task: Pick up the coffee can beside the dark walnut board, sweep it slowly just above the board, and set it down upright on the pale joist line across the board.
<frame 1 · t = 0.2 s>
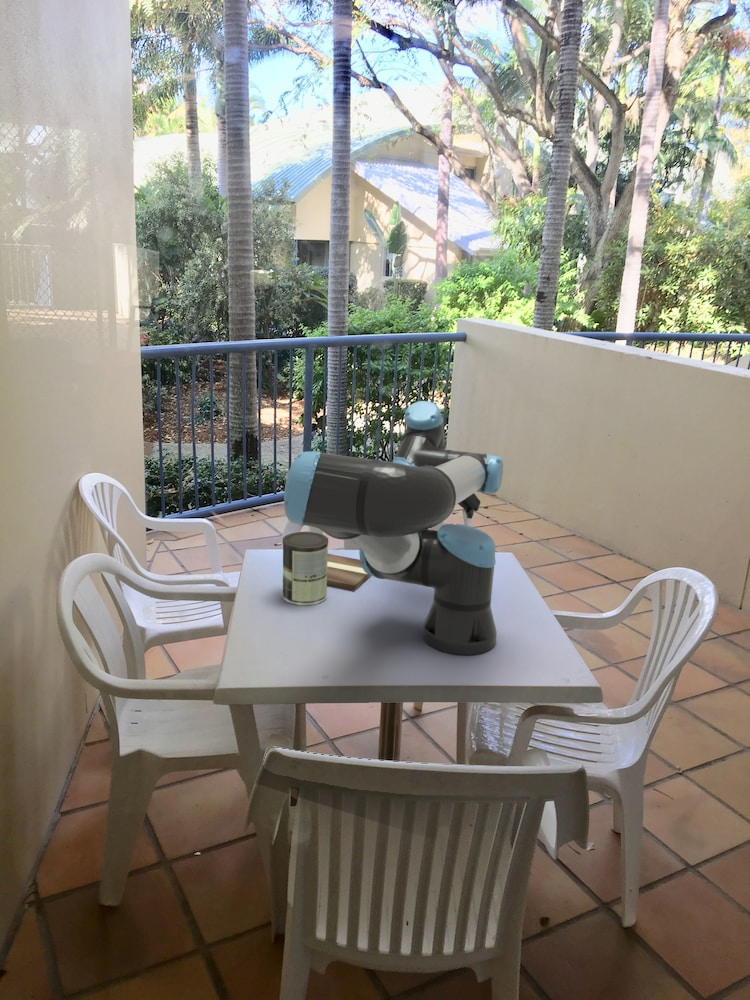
hand: (440, 519, 180), 15 cm above the table, tool tilted 35°, fingers open, 13 cm apart
joist line: (335, 571, 186), resting on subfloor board
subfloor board: (334, 573, 185), on the table
coffee can: (304, 597, 171), on the table
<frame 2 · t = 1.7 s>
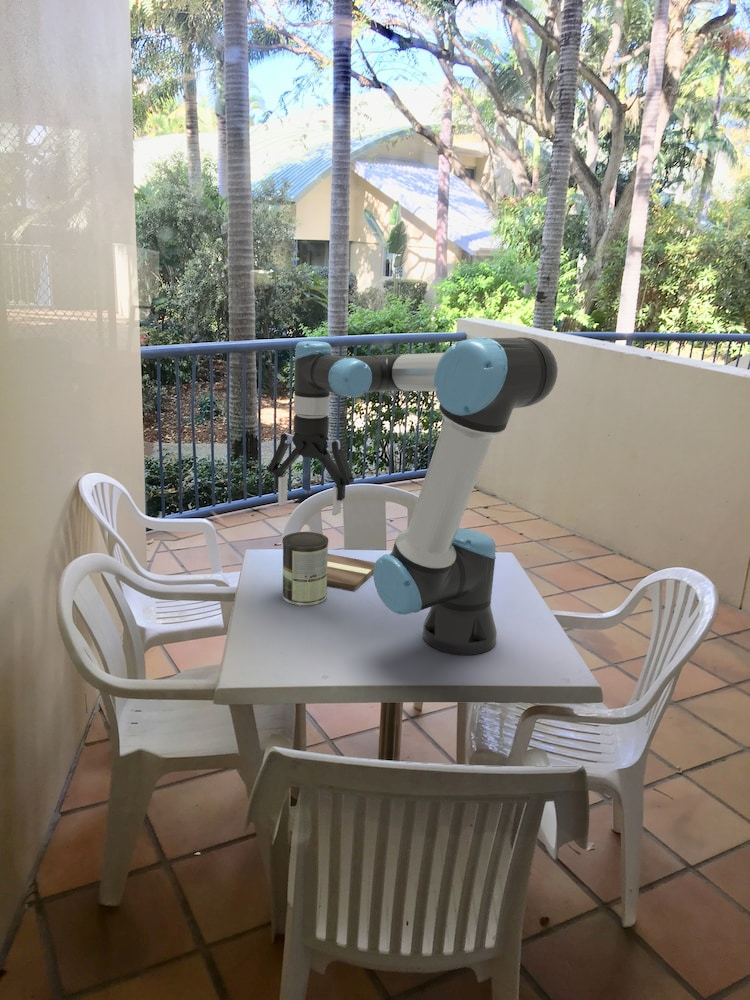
hand: (309, 508, 166), 21 cm above the table, tool pointing down, fingers open, 13 cm apart
nothing on the table moved.
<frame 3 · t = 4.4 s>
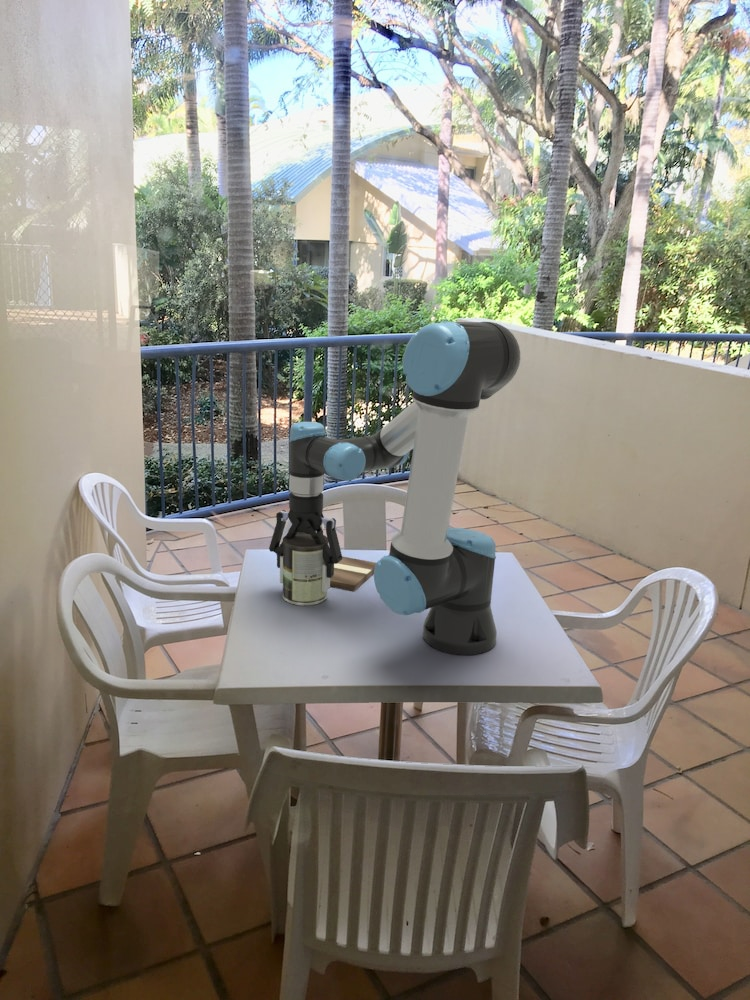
hand: (304, 585, 170), 3 cm above the table, tool pointing down, fingers closed on coffee can, 10 cm apart
coffee can: (304, 597, 171), on the table, touching gripper
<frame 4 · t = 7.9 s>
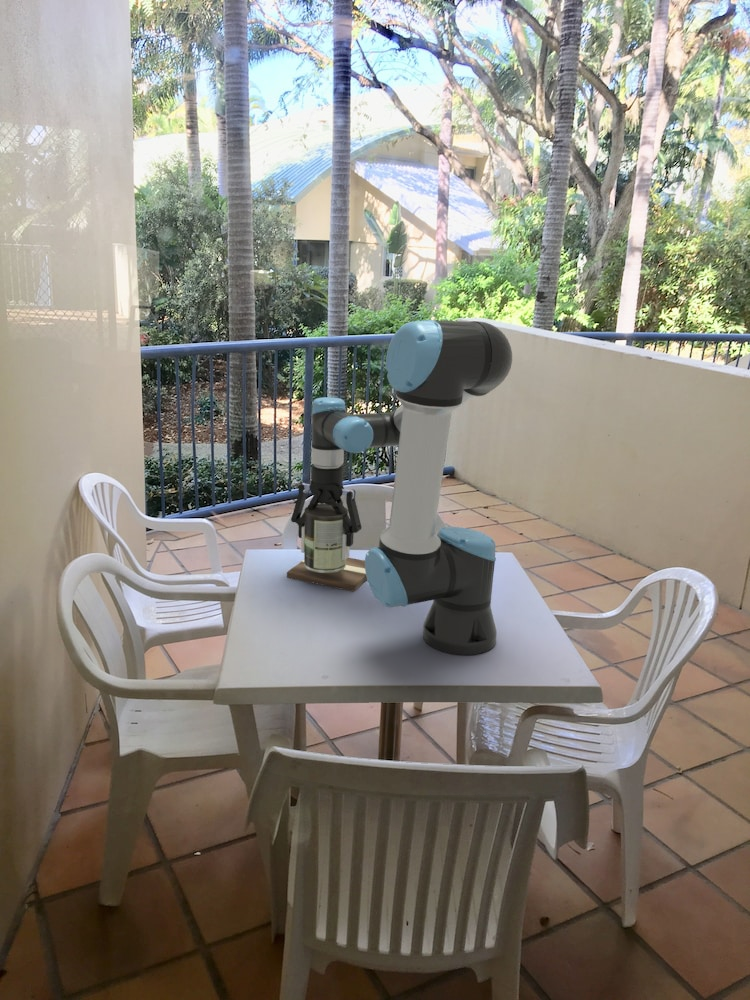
hand: (325, 554, 179), 7 cm above the table, tool pointing down, fingers closed on coffee can, 10 cm apart
coffee can: (325, 566, 180), point 4 cm above the table, touching gripper
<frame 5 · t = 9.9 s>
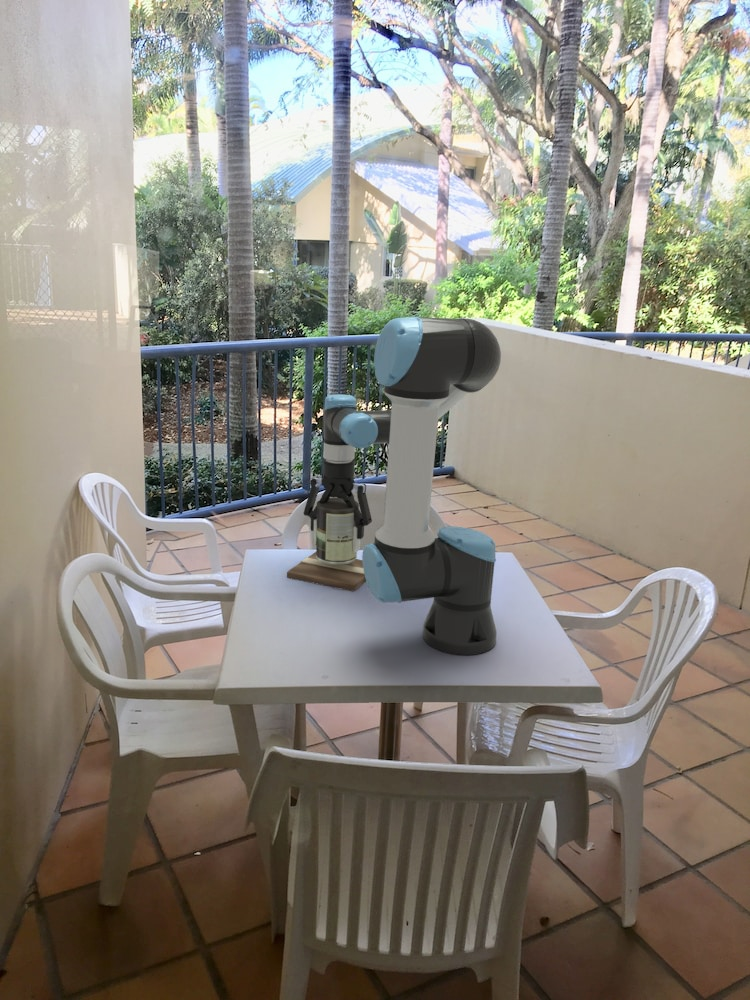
hand: (336, 546, 184), 7 cm above the table, tool pointing down, fingers closed on coffee can, 10 cm apart
coffee can: (336, 558, 185), point 4 cm above the table, touching gripper
when the fingers open (5 cm above the table, at t = 11.4 s): coffee can stays where it is, resting on joist line.
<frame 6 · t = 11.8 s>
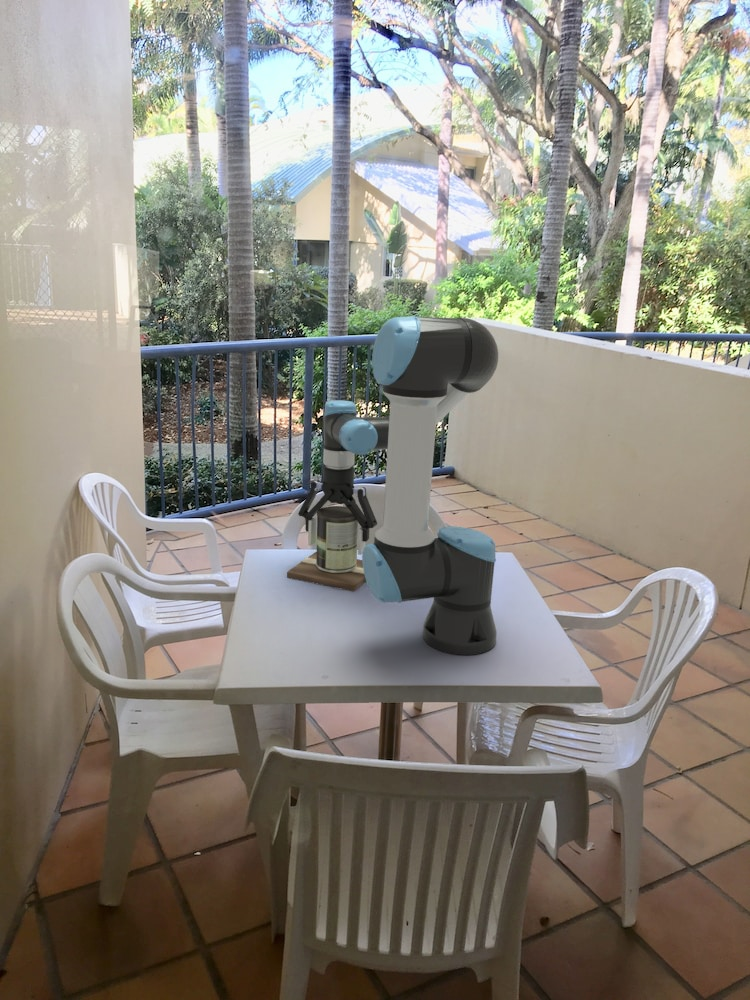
hand: (336, 548, 185), 6 cm above the table, tool pointing down, fingers open, 13 cm apart
coffee can: (336, 566, 186), point 1 cm above the table, touching joist line
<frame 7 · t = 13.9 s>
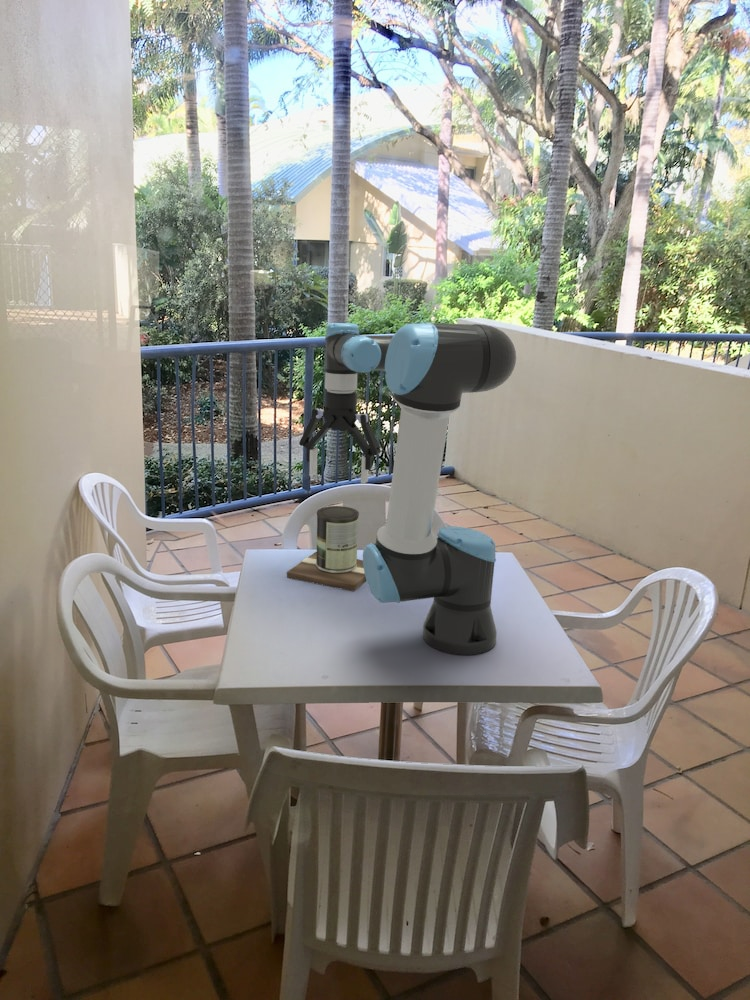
hand: (338, 478, 179), 24 cm above the table, tool pointing down, fingers open, 13 cm apart
nothing on the table moved.
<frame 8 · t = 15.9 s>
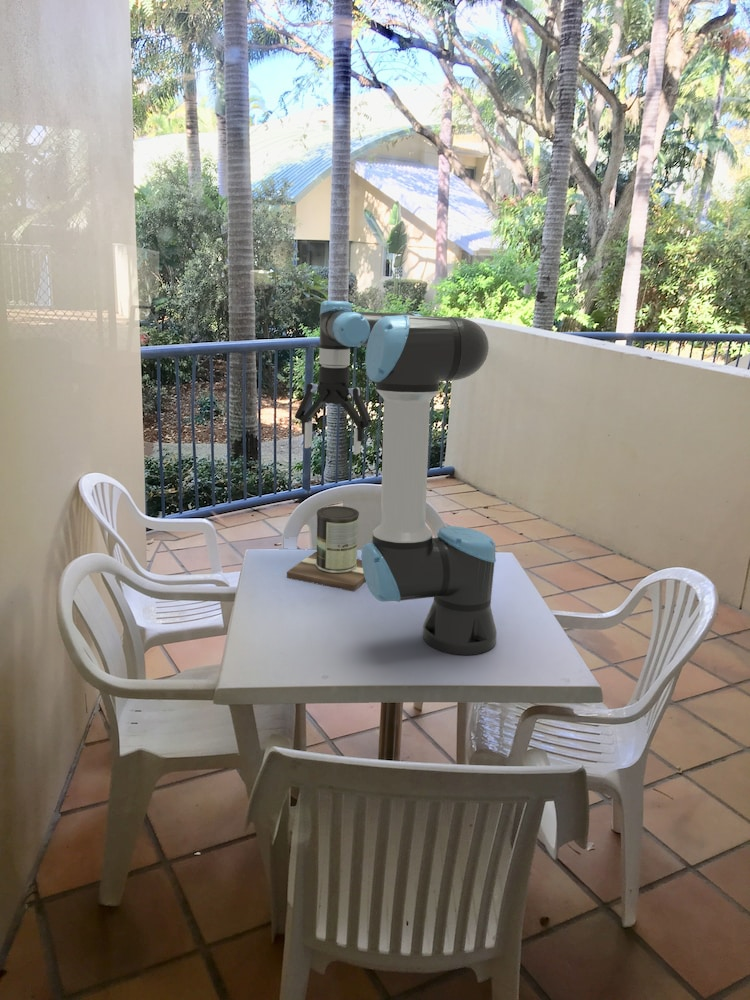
hand: (332, 450, 188), 29 cm above the table, tool pointing down, fingers open, 13 cm apart
nothing on the table moved.
at the end: coffee can 0.2 cm from the joist line (horizontally); coffee can point 1.5 cm above the table; coffee can tilted 0° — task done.
